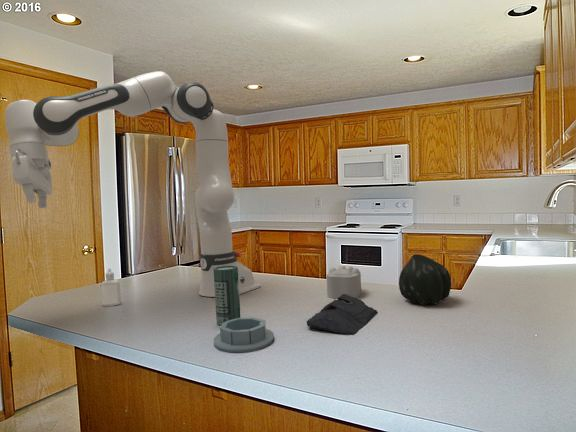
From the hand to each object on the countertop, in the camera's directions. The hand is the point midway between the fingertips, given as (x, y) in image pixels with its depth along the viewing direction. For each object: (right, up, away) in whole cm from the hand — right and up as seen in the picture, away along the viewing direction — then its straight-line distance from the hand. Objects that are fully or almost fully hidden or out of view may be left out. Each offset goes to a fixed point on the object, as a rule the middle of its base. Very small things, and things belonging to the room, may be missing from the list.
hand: (37, 205), depth 115 cm
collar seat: (+59, -32, -18) cm, 70 cm away
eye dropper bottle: (+12, -33, +22) cm, 41 cm away
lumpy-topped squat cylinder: (+89, -29, +20) cm, 95 cm away
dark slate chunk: (+84, -31, -6) cm, 90 cm away
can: (+54, -32, -4) cm, 63 cm away
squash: (+110, -28, +7) cm, 114 cm away
